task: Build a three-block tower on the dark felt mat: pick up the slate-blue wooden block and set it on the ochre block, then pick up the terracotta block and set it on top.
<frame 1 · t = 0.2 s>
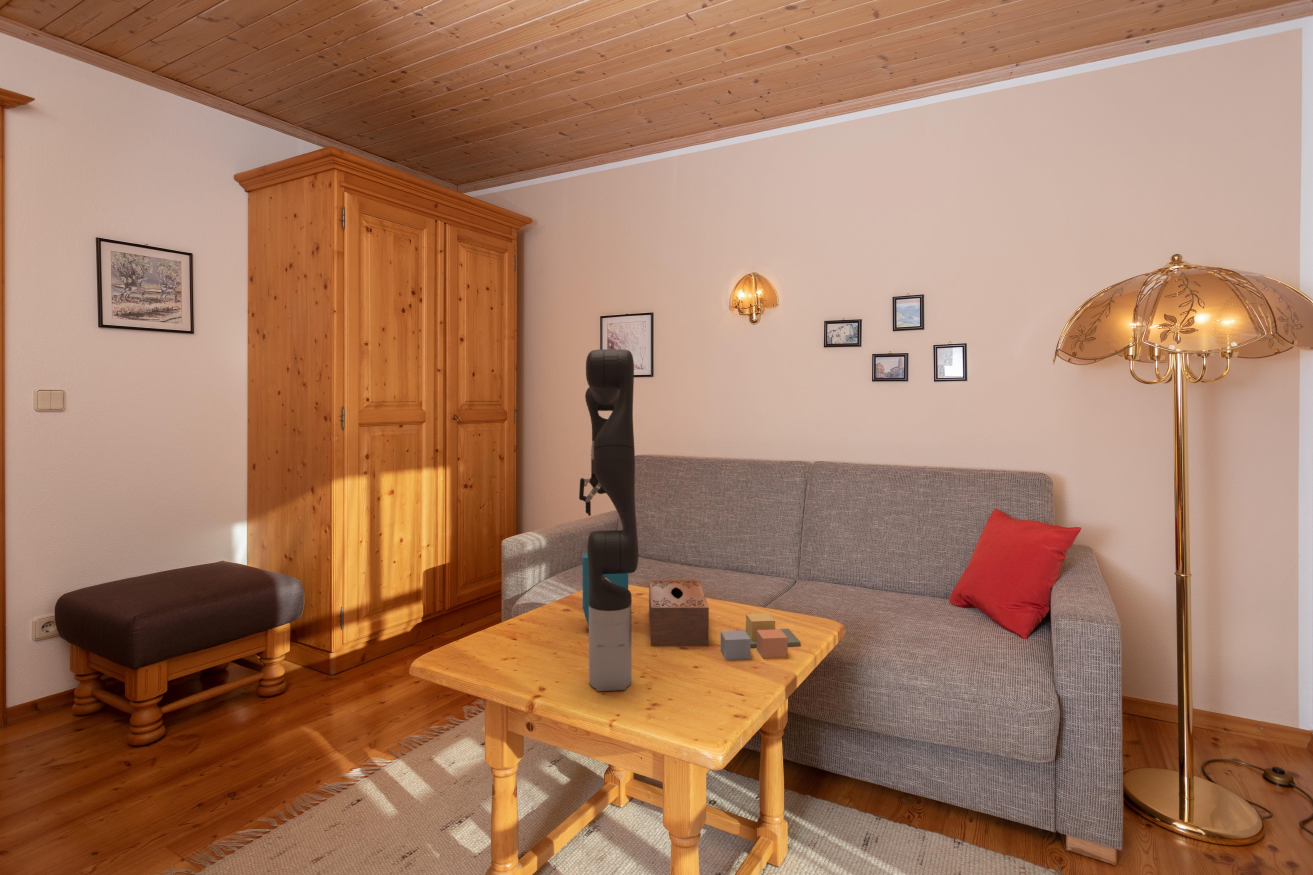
hand: (604, 515, 191), 29 cm above the table, fingers open, 8 cm apart
tissue box cover: (676, 630, 183), on the table
terracotta block: (771, 653, 165), on the table
block: (605, 630, 182), on the table
slate block: (735, 655, 164), on the table
ochre block: (760, 636, 174), point 1 cm above the table, touching felt mat
felt mat: (767, 639, 174), on the table
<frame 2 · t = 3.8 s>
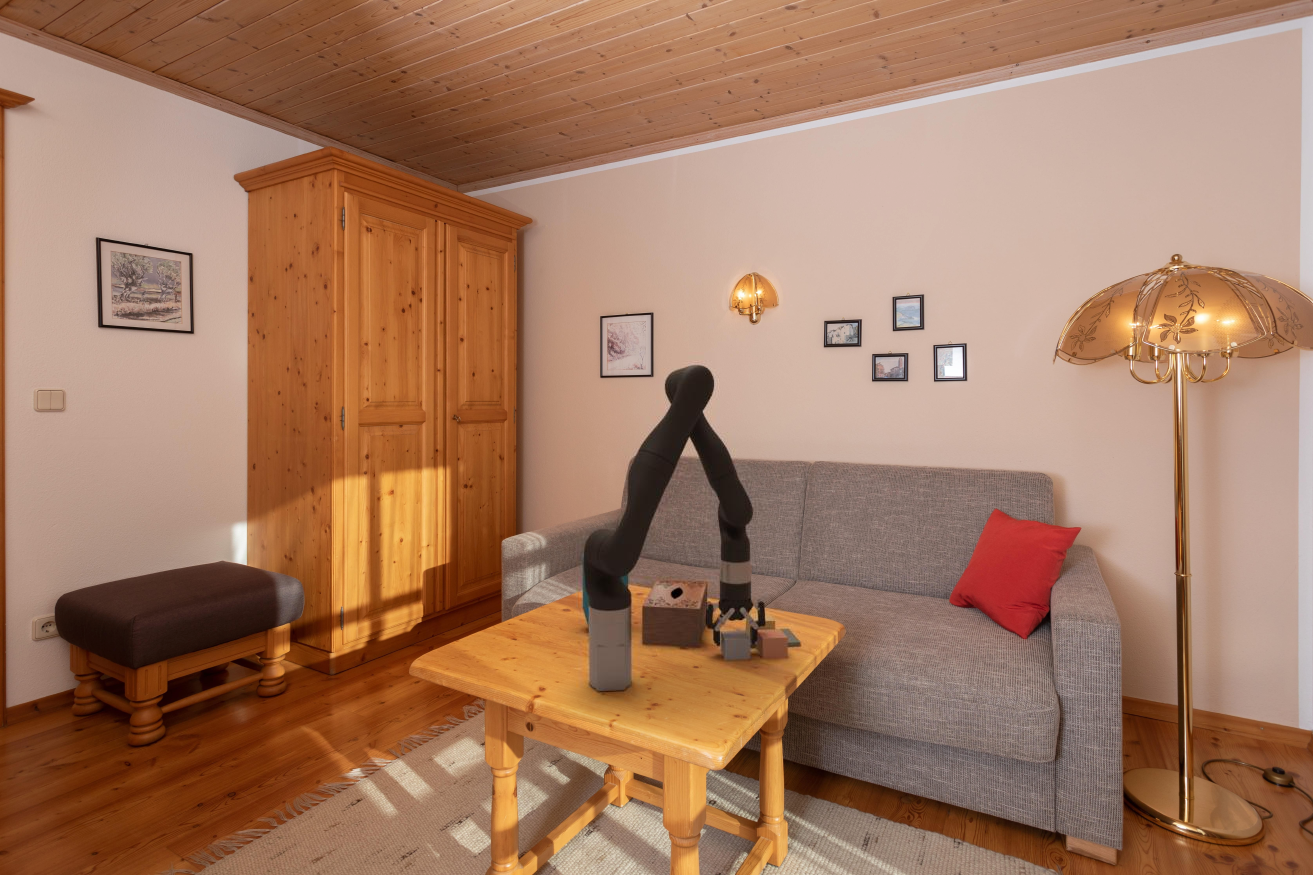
hand: (735, 643, 165), 2 cm above the table, fingers open, 8 cm apart
terracotta block: (771, 653, 165), on the table, touching gripper
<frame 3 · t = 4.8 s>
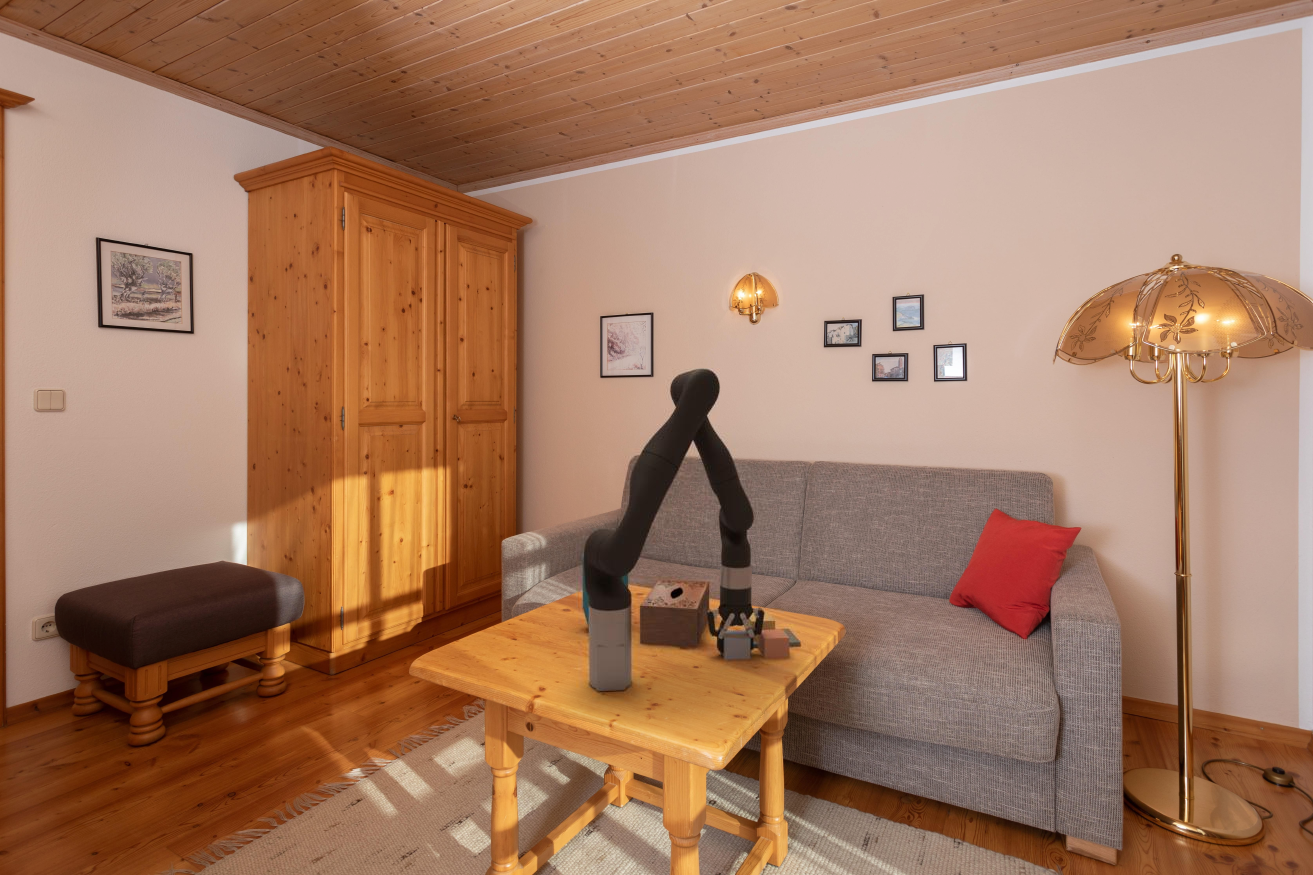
hand: (735, 651, 164), 1 cm above the table, fingers closed on slate block, 6 cm apart
terracotta block: (773, 653, 165), on the table
slate block: (735, 654, 164), on the table, touching gripper
when the fingers open (8 cm above the table, at t = 9.9 s): slate block stays where it is, resting on ochre block.
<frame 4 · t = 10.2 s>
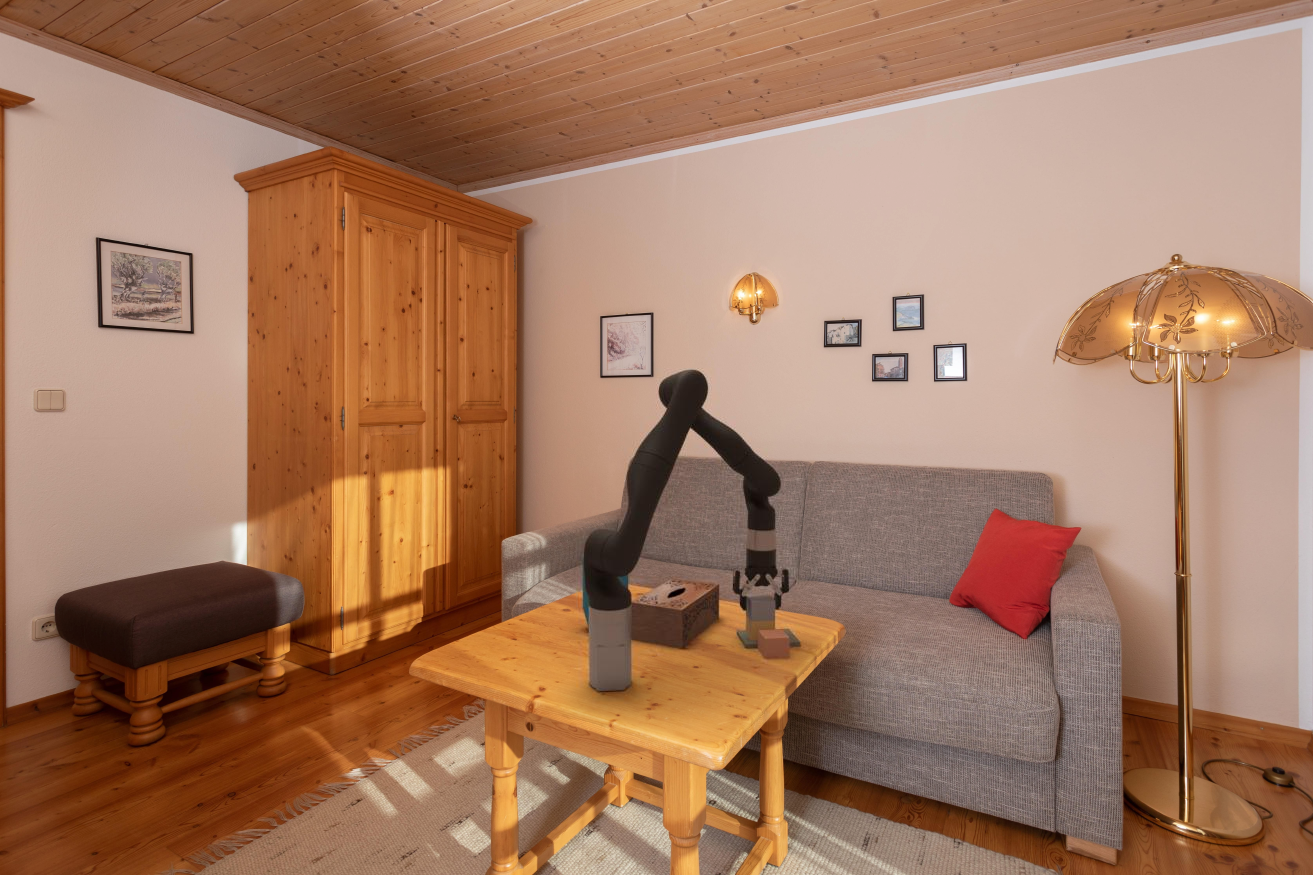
hand: (760, 609, 174), 8 cm above the table, fingers open, 8 cm apart
slate block: (760, 617, 174), point 6 cm above the table, touching ochre block
ochre block: (760, 636, 174), point 1 cm above the table, touching felt mat, slate block
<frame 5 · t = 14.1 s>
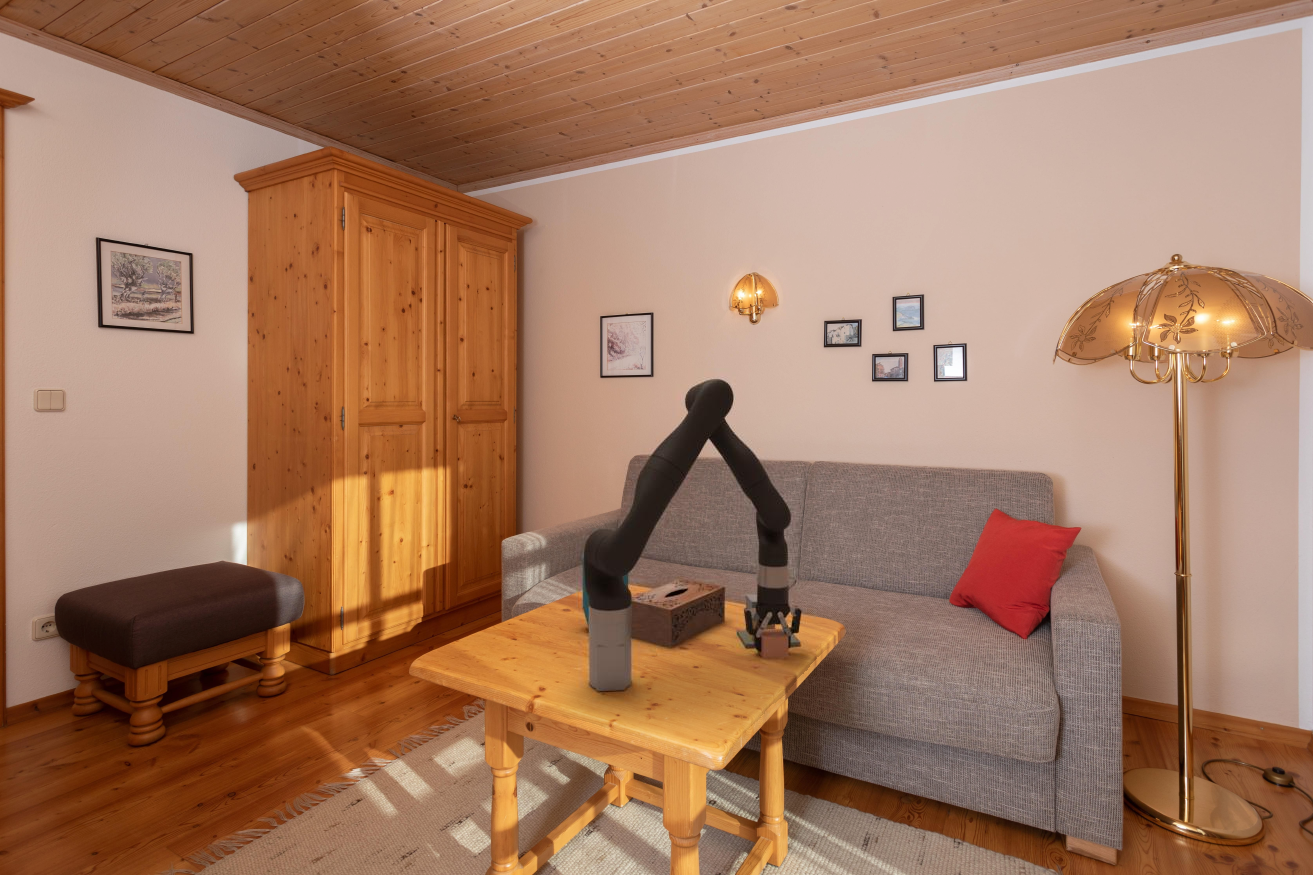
hand: (772, 650, 165), 1 cm above the table, fingers closed on terracotta block, 6 cm apart
terracotta block: (772, 653, 165), on the table, touching gripper
when the fingers open (13 cm above the table, at t = 19.5 s): terracotta block stays where it is, resting on slate block.
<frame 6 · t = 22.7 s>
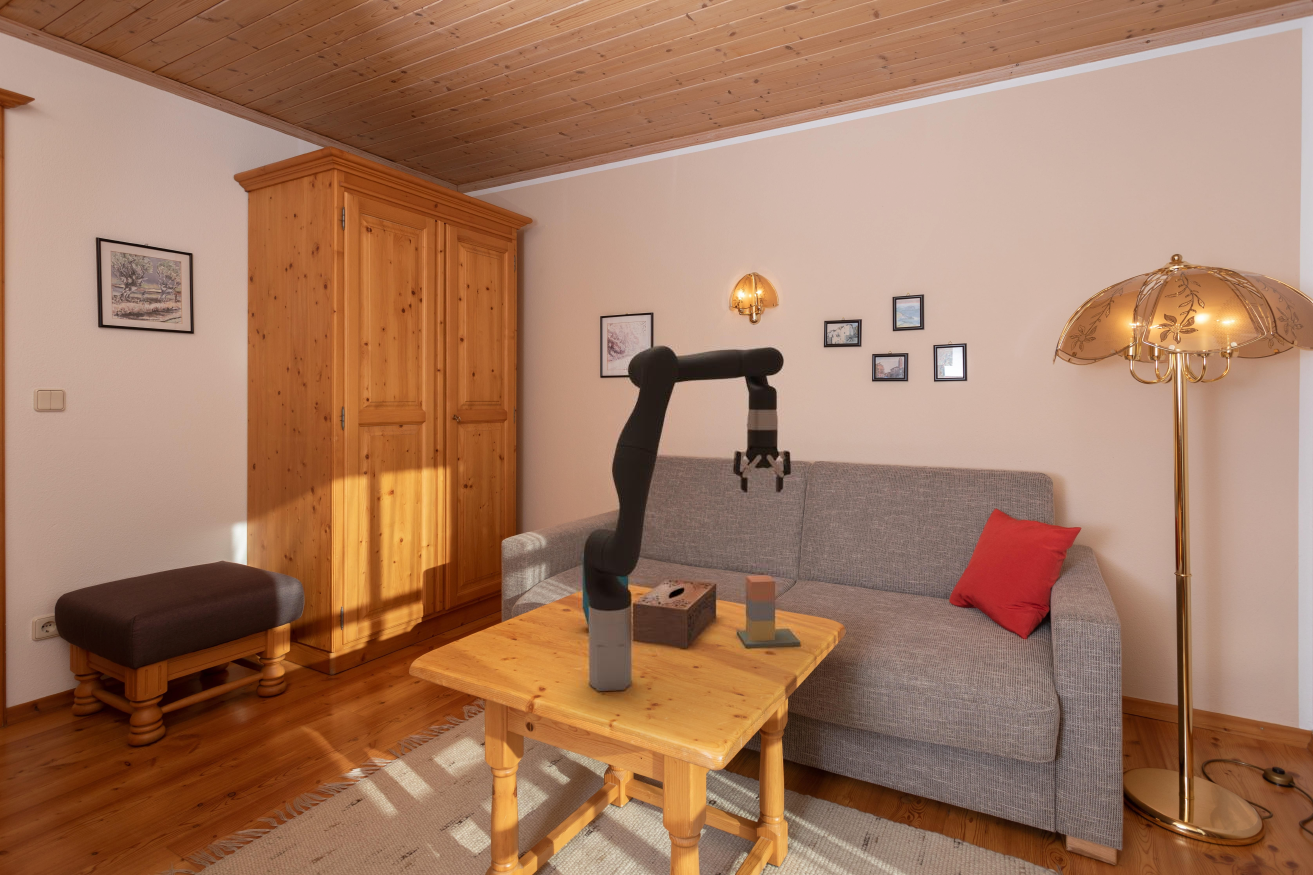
hand: (761, 492, 172), 38 cm above the table, fingers open, 8 cm apart
terracotta block: (760, 597, 173), point 11 cm above the table, touching slate block
slate block: (760, 617, 174), point 6 cm above the table, touching ochre block, terracotta block
at the end: slate block 0.0 cm off-centre on the ochre block, point 5.0 cm above the ochre block's base; terracotta block 0.1 cm off-centre on the ochre block, point 10.0 cm above the ochre block's base; terracotta block tilted 0° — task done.
